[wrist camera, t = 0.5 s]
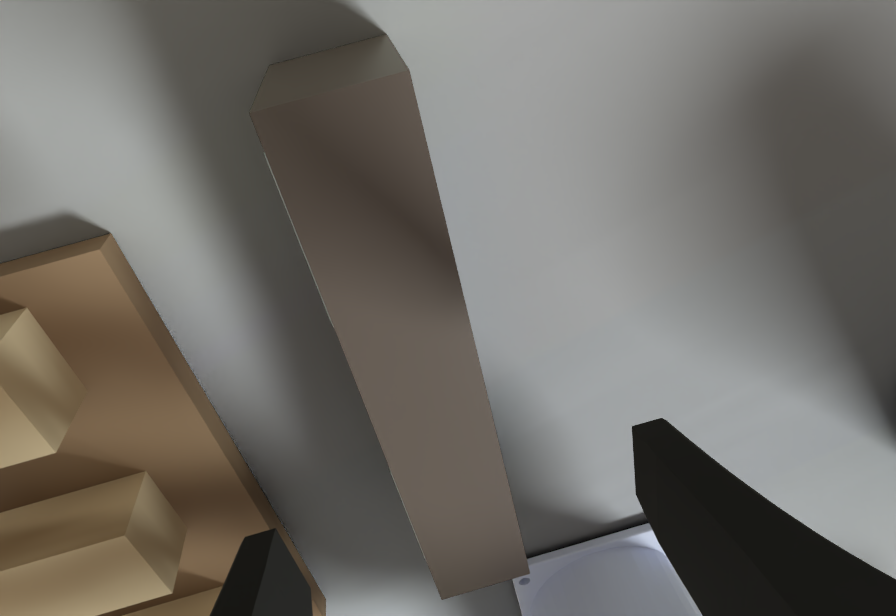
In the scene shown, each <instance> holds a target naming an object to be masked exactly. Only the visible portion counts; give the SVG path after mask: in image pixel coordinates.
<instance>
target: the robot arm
mask: <svg viewBox="0 0 896 616" xmlns="http://www.w3.org/2000/svg"><path fill="white" fill-rule="evenodd" d="M632 435H633V452H634V469H635V486H636V495H637V498H638V500H639V502H640V504H641V506H642V509H643V511H644V513H645V515H646V517H647V520H648V522H649V523H647V524H643V525H640V526H636V527H633V528H630V529H626V530H623V531H620V532H616V533H613V534H610V535H606V536H603V537H599V538H596V539H593V540H589V541H586V542H583V543H579V544H576V545H572V546H569V547H566V548H562V549H559V550H556V551H552V552H549V553H546V554H542V555H539V556H535V557H532V558H529V559H527V562H528V566H529V570H530V574H527V575H524V576H521V577H517V578H514V579H512V581H513V584H514V588H515V592H516V595H517V599H518V603H519V606H520V610H521V614H522V616H702V615H703V616H896V579H894V578H892V577H890V576H889V575H887V574H885V573H883V572H881V571H880V570H878V569H876V568H874V567H872V566H871V565H869V564H867V563H866V562H864V561H862V560H860V559H859V558H857V557H855V556H854V555H852V554H850V553H849V552H847V551H845V550H843V549H842V548H840V547H839V546H837V545H835V544H834V543H832V542H830V541H829V540H827V539H826V538H824V537H823V536H821V535H819V534H818V533H816V532H815V531H813V530H812V529H810V528H809V527H807V526H806V525H804V524H803V523H801V522H800V521H798V520H797V519H795V518H794V517H792V516H791V515H789V514H788V513H786V512H785V511H783V510H782V509H780V508H779V507H777V506H776V505H775V504H773V503H772V502H770V501H769V500H767V499H766V498H765V497H763V496H762V495H760V494H759V493H758V492H756V491H755V490H754V489H752V488H751V487H750V486H748V485H747V484H745V483H744V482H743V481H741V480H740V479H739V478H737V477H736V476H735V475H733V474H732V473H731V472H729V471H728V470H727V469H725V468H724V467H723V466H722V465H720V464H719V463H718V462H716V461H715V460H714V459H713V458H711V457H710V456H709V455H708V454H706V453H705V452H704V451H703V450H701V449H700V448H699V447H698V446H696V445H695V444H694V443H693V442H692V441H690V440H689V439H688V438H687V437H685V436H684V435H683V434H682V433H681V432H679V431H678V430H677V429H676V428H675V427H674V426H672V425H671V424H670V423H669V422H668V421H666V420H664V419H663V418H660V419H656V420H653V421H649V422H646V423H642V424H639V425H635V426H632ZM699 610H700V611H699ZM700 612H701V613H700ZM210 616H313V611H312V598H311V588H310V586H309V584H308V583H307V581H306V579H305V578H304V576H303V574H302V572H301V571H300V569H299V567H298V565H297V564H296V562H295V560H294V559H293V557H292V555H291V553H290V552H289V550H288V548H287V547H286V545H285V543H284V541H283V540H282V538H281V536H280V535H279V533H278V531H277V529H276V528H274V529H271V530H267V531H263V532H260V533H256V534H253V535H249V536H246V537H245V538H244V539H243V541H242V542H241V545H240V547H239V549H238V552H237V554H236V556H235V559H234V561H233V563H232V566H231V568H230V570H229V573H228V575H227V577H226V580H225V582H224V584H223V586H222V589H221V591H220V593H219V596H218V598H217V600H216V602H215V604H214V607H213V609H212V611H211V613H210Z"/></svg>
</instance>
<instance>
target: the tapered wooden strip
mask: <svg viewBox="0 0 896 616" xmlns="http://www.w3.org/2000/svg"><path fill="white" fill-rule="evenodd" d="M249 114H250V116H251V119H252V122H253V124H254V127H255V129H256V132H257V134H258V137H259V139H260V142H261V144H262V147H263V149H264V156H265V159H266V161H267V164H268V166H269V169H270V171H271V174H272V176H273V179H274V181H275V184H276V186H277V189H278V191H279V194H280V196H281V199H282V201H283V204H284V206H285V209H286V211H287V214H288V216H289V219H290V221H291V224H292V227H293V229H294V232H295V234H296V237H297V239H298V242H299V244H300V247H301V249H302V252H303V254H304V257H305V259H306V262H307V264H308V267H309V269H310V272H311V274H312V277H313V279H314V282H315V284H316V287H317V289H318V292H319V295H320V297H321V300H322V302H323V305H324V307H325V310H326V312H327V315H328V317H329V320H330V322H331V325H332V327H333V326H334V329H335V331H336V334H337V336H338V339H339V341H340V344H341V347H342V349H343V352H344V354H345V357H346V359H347V362H348V364H349V367H350V369H351V372H352V374H353V377H354V379H355V382H356V384H357V387H358V390H359V392H360V395H361V397H362V400H363V402H364V405H365V407H366V410H367V412H368V415H369V417H370V420H371V422H372V425H373V427H374V430H375V433H376V435H377V438H378V440H379V443H380V445H381V448H382V450H383V453H384V455H385V458H386V460H387V463H388V465H389V471H390V473H391V476H392V478H393V481H394V483H395V486H396V488H397V491H398V493H399V496H400V499H401V501H402V504H403V506H404V509H405V511H406V514H407V516H408V519H409V521H410V524H411V526H412V529H413V531H414V534H415V536H416V539H417V541H418V544H419V546H420V549H421V551H422V554H423V556H424V559H426V561H427V564H428V567H429V569H430V572H431V574H432V577H433V579H434V582H435V584H436V587H437V589H438V592H439V594H440V597H441V599H442V600H443V599H446V598H450V597H453V596H456V595H460V594H463V593H467V592H470V591H473V590H477V589H480V588H484V587H487V586H490V585H494V584H497V583H500V582H504V581H507V580H511V579H514V578H517V577H521V576H524V575H527V574H530V570H529V566H528V562H527V558H526V554H525V550H524V545H523V541H522V537H521V533H520V529H519V525H518V520H517V516H516V512H515V508H514V504H513V500H512V495H511V491H510V487H509V483H508V479H507V475H506V471H505V466H504V462H503V458H502V454H501V450H500V446H499V441H498V437H497V433H496V429H495V425H494V421H493V416H492V412H491V408H490V404H489V400H488V396H487V391H486V387H485V383H484V379H483V375H482V371H481V367H480V362H479V358H478V354H477V350H476V346H475V342H474V337H473V333H472V329H471V325H470V321H469V317H468V312H467V308H466V304H465V300H464V296H463V292H462V287H461V283H460V279H459V275H458V271H457V267H456V263H455V258H454V254H453V250H452V246H451V242H450V238H449V233H448V229H447V225H446V221H445V217H444V213H443V208H442V204H441V200H440V196H439V192H438V188H437V183H436V179H435V175H434V171H433V167H432V163H431V159H430V154H429V150H428V146H427V142H426V138H425V134H424V129H423V125H422V121H421V117H420V113H419V109H418V104H417V100H416V96H415V92H414V88H413V84H412V79H411V75H410V71H409V69H408V67H407V66H406V64H405V62H404V61H403V59H402V58H401V56H400V54H399V53H398V51H397V50H396V48H395V47H394V45H393V43H392V42H391V40H390V39H389V37H388V35H387V34H385V35H381V36H377V37H373V38H370V39H366V40H362V41H358V42H355V43H351V44H347V45H343V46H340V47H336V48H332V49H328V50H325V51H321V52H317V53H313V54H310V55H306V56H302V57H298V58H295V59H291V60H287V61H283V62H280V63H276V64H272V65H269V67H268V70H267V72H266V74H265V77H264V79H263V81H262V84H261V86H260V88H259V91H258V93H257V96H256V98H255V100H254V103H253V105H252V107H251V110H250V112H249Z"/></svg>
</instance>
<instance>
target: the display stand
mask: <svg viewBox="0 0 896 616" xmlns="http://www.w3.org/2000/svg"><path fill="white" fill-rule="evenodd" d="M274 528H276V529H277V531H278V533H279V535H280V536H281V538H282V540H283V541H284V543H285V545H286V547H287V548H288V550H289V552H290V553H291V555H292V557H293V559H294V560H295V562H296V564H297V565H298V567H299V569H300V571H301V572H302V574H303V576H304V578H305V579H306V581H307V583H308V584H309V586H310V588H311V598H312V611H313V616H326V599H325V597H324V595H323V594H322V592H321V590H320V589H319V587H318V585H317V583H316V582H315V580H314V578H313V577H312V575H311V573H310V571H309V570H308V568H307V566H306V565H305V563H304V561H303V560H302V558H301V556H300V554H299V553H298V551H297V549H296V548H295V546H294V544H293V543H292V541H291V539H290V537H289V536H288V534H287V532H286V531H285V529H284V527H283V525H282V524H281V522H280V520H279V519H278V517H277V515H276V514H275V512H274V510H273V508H272V507H271V505H270V503H269V502H268V500H267V498H266V497H265V495H264V493H263V491H262V490H261V488H260V486H259V485H258V483H257V481H256V479H255V478H254V476H253V474H252V473H251V471H250V469H249V468H248V466H247V464H246V462H245V461H244V459H243V457H242V456H241V454H240V452H239V450H238V449H237V447H236V445H235V444H234V442H233V440H232V439H231V437H230V435H229V433H228V432H227V430H226V428H225V427H224V425H223V423H222V422H221V420H220V418H219V416H218V415H217V413H216V411H215V410H214V408H213V406H212V404H211V403H210V401H209V399H208V398H207V396H206V394H205V393H204V391H203V389H202V387H201V386H200V384H199V382H198V381H197V379H196V377H195V375H194V374H193V372H192V370H191V369H190V367H189V365H188V364H187V362H186V360H185V358H184V357H183V355H182V353H181V352H180V350H179V348H178V347H177V345H176V343H175V341H174V340H173V338H172V336H171V335H170V333H169V331H168V329H167V328H166V326H165V324H164V323H163V321H162V319H161V318H160V316H159V314H158V312H157V311H156V309H155V307H154V306H153V304H152V302H151V301H150V299H149V297H148V295H147V294H146V292H145V290H144V289H143V287H142V285H141V283H140V282H139V280H138V278H137V277H136V275H135V273H134V272H133V270H132V268H131V266H130V265H129V263H128V261H127V260H126V258H125V256H124V254H123V253H122V251H121V249H120V248H119V246H118V244H117V243H116V241H115V239H114V237H113V236H112V234H111V233H110V234H107V235H103V236H99V237H96V238H92V239H89V240H85V241H81V242H78V243H74V244H70V245H67V246H63V247H59V248H56V249H52V250H48V251H45V252H41V253H37V254H34V255H30V256H27V257H23V258H19V259H16V260H12V261H8V262H5V263H1V264H0V616H210V613H211V611H212V609H213V607H214V604H215V602H216V600H217V598H218V596H219V593H220V591H221V589H222V586H223V584H224V582H225V580H226V577H227V575H228V573H229V570H230V568H231V566H232V563H233V561H234V559H235V556H236V554H237V552H238V549H239V547H240V545H241V542H242V541H243V539H244V538H245V537H246V536H249V535H253V534H256V533H260V532H263V531H267V530H271V529H274Z"/></svg>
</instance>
